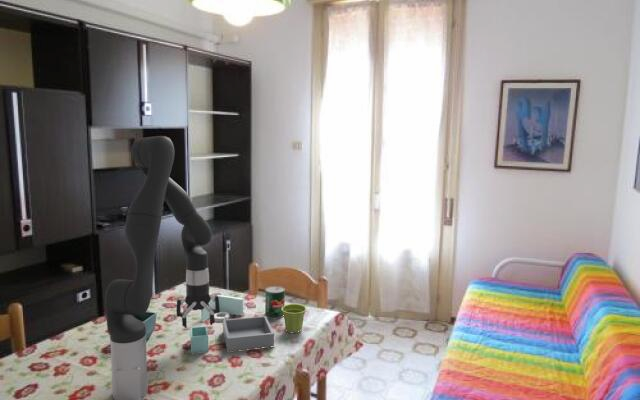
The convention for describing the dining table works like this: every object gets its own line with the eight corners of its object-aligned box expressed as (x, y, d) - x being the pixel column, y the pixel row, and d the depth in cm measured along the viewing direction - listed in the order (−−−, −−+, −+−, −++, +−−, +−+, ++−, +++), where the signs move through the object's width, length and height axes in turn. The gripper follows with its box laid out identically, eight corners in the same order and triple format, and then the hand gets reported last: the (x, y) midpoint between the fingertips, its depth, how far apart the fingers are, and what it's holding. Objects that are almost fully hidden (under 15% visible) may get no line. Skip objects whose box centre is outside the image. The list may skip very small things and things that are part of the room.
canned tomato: (277, 320, 184) (277, 293, 182) (261, 315, 188) (261, 290, 186) (288, 313, 190) (288, 288, 189) (272, 309, 194) (273, 284, 193)
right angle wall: (201, 323, 180) (201, 304, 179) (217, 312, 192) (217, 294, 191) (228, 327, 177) (228, 309, 176) (243, 316, 188) (243, 298, 187)
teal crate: (208, 352, 156) (208, 335, 155) (191, 354, 155) (191, 337, 154) (207, 341, 164) (206, 325, 163) (190, 343, 162) (190, 327, 161)
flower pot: (144, 346, 158) (143, 322, 157) (121, 343, 160) (120, 319, 159) (157, 335, 167) (157, 312, 166) (136, 333, 169) (135, 309, 167)
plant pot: (276, 331, 173) (276, 309, 172) (289, 323, 181) (289, 302, 180) (297, 337, 169) (298, 315, 167) (310, 328, 177) (310, 306, 176)
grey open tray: (273, 347, 161) (274, 333, 160) (227, 352, 156) (227, 338, 155) (265, 328, 176) (265, 315, 175) (223, 332, 171) (223, 319, 170)
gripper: (175, 286, 150) (177, 332, 153) (220, 282, 154) (220, 328, 157) (175, 278, 157) (176, 323, 160) (217, 275, 161) (218, 319, 164)
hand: (198, 325), depth 158 cm, fingers open, 8 cm apart
